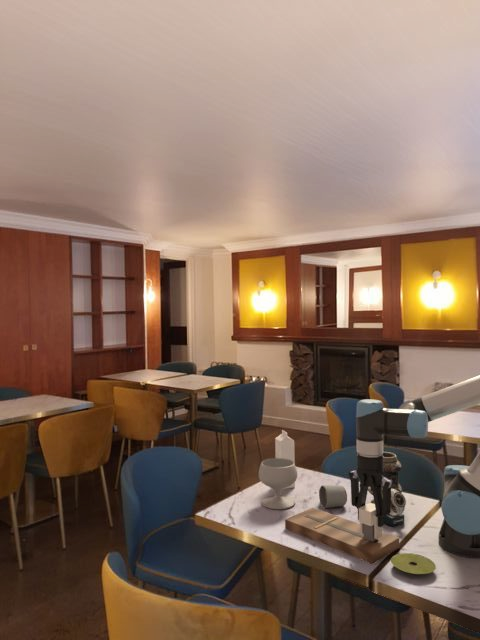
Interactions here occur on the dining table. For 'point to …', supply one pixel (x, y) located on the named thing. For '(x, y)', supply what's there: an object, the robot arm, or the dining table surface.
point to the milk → (285, 449)
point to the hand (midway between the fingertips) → (370, 534)
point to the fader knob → (368, 520)
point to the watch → (394, 516)
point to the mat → (413, 563)
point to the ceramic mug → (332, 496)
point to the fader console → (341, 535)
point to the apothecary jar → (390, 473)
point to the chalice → (278, 481)
